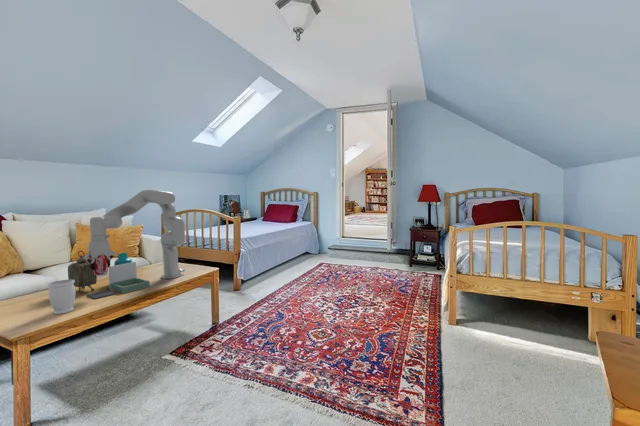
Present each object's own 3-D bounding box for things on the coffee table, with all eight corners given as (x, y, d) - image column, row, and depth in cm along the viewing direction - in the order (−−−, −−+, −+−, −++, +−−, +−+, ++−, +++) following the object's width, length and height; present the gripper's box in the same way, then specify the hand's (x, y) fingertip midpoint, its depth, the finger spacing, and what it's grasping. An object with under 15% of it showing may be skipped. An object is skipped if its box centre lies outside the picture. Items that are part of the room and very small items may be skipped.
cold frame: (136, 282, 210) (135, 261, 209) (149, 286, 201) (148, 264, 200) (109, 288, 197) (108, 266, 196) (122, 293, 188) (121, 270, 187)
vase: (137, 279, 218) (135, 251, 217) (126, 283, 208) (124, 255, 206) (122, 279, 219) (121, 251, 218) (111, 283, 209) (109, 255, 207)
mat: (109, 290, 194) (109, 289, 194) (118, 293, 187) (118, 292, 187) (86, 295, 184) (86, 294, 184) (95, 299, 178) (95, 297, 177)
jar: (60, 307, 165) (58, 279, 164) (81, 307, 166) (79, 278, 165) (44, 315, 154) (42, 285, 153) (67, 314, 155) (64, 284, 154)
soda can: (111, 273, 187) (110, 253, 186) (99, 276, 180) (98, 255, 180) (102, 272, 189) (101, 252, 189) (90, 275, 183) (89, 255, 182)
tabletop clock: (97, 290, 194) (95, 250, 192) (80, 295, 186) (78, 253, 184) (85, 287, 200) (82, 248, 199) (68, 291, 192) (65, 251, 191)
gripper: (112, 236, 193) (114, 264, 194) (78, 239, 179) (80, 270, 180) (118, 236, 189) (119, 266, 190) (84, 240, 174) (85, 272, 175)
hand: (100, 268), depth 185 cm, fingers closed on soda can, 7 cm apart
